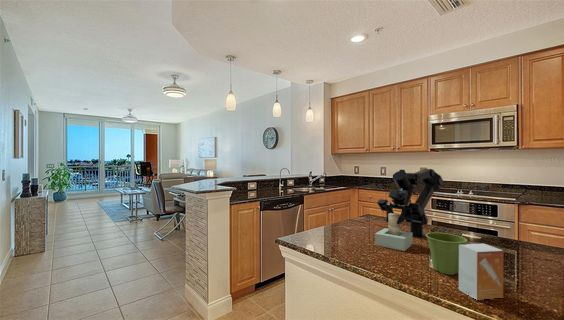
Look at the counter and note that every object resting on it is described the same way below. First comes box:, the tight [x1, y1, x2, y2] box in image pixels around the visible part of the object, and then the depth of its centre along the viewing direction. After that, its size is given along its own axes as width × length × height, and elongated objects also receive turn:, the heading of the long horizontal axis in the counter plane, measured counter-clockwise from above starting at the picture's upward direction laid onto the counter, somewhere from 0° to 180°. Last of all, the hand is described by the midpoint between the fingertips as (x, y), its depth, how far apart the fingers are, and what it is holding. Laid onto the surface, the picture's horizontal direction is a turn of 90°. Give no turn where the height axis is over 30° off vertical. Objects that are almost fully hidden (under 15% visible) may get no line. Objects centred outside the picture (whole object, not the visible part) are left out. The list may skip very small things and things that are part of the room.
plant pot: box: [425, 232, 468, 276], centre depth 88 cm, size 12×12×11 cm
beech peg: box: [387, 212, 401, 236], centre depth 116 cm, size 4×4×10 cm
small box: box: [458, 243, 505, 301], centre depth 73 cm, size 8×6×13 cm
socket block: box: [374, 227, 414, 252], centre depth 116 cm, size 12×12×5 cm
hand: (392, 222), depth 115 cm, fingers closed on beech peg, 4 cm apart
